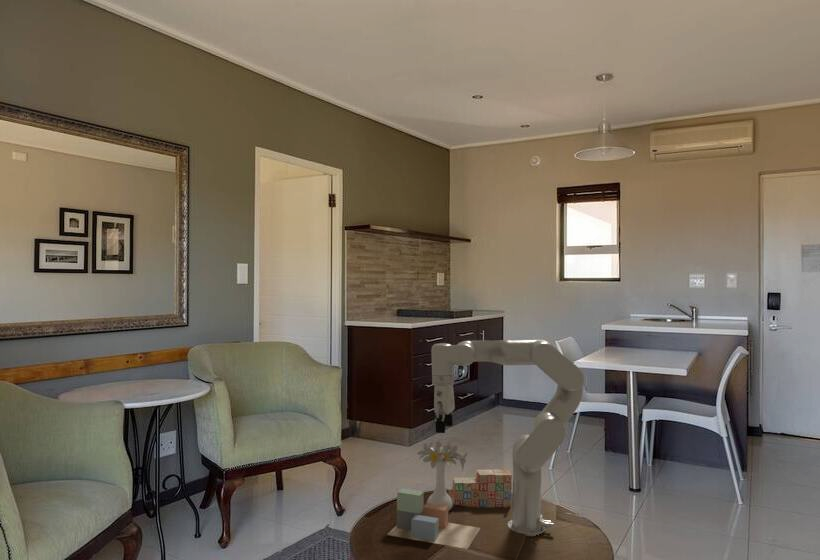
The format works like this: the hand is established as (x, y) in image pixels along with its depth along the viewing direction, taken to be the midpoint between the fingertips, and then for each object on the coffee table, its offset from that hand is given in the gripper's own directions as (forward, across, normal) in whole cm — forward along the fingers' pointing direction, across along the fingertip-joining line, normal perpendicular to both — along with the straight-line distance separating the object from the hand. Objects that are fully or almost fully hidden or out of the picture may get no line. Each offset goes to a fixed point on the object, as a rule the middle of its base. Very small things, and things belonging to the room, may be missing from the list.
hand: (444, 429), depth 206 cm
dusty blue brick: (+32, -15, +3) cm, 35 cm away
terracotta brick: (+32, -4, +3) cm, 32 cm away
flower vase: (+33, +10, +5) cm, 35 cm away
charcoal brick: (+31, -10, +10) cm, 34 cm away
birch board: (+33, -9, +2) cm, 34 cm away
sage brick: (+25, -9, +10) cm, 29 cm away
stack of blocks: (+34, +23, -7) cm, 41 cm away
